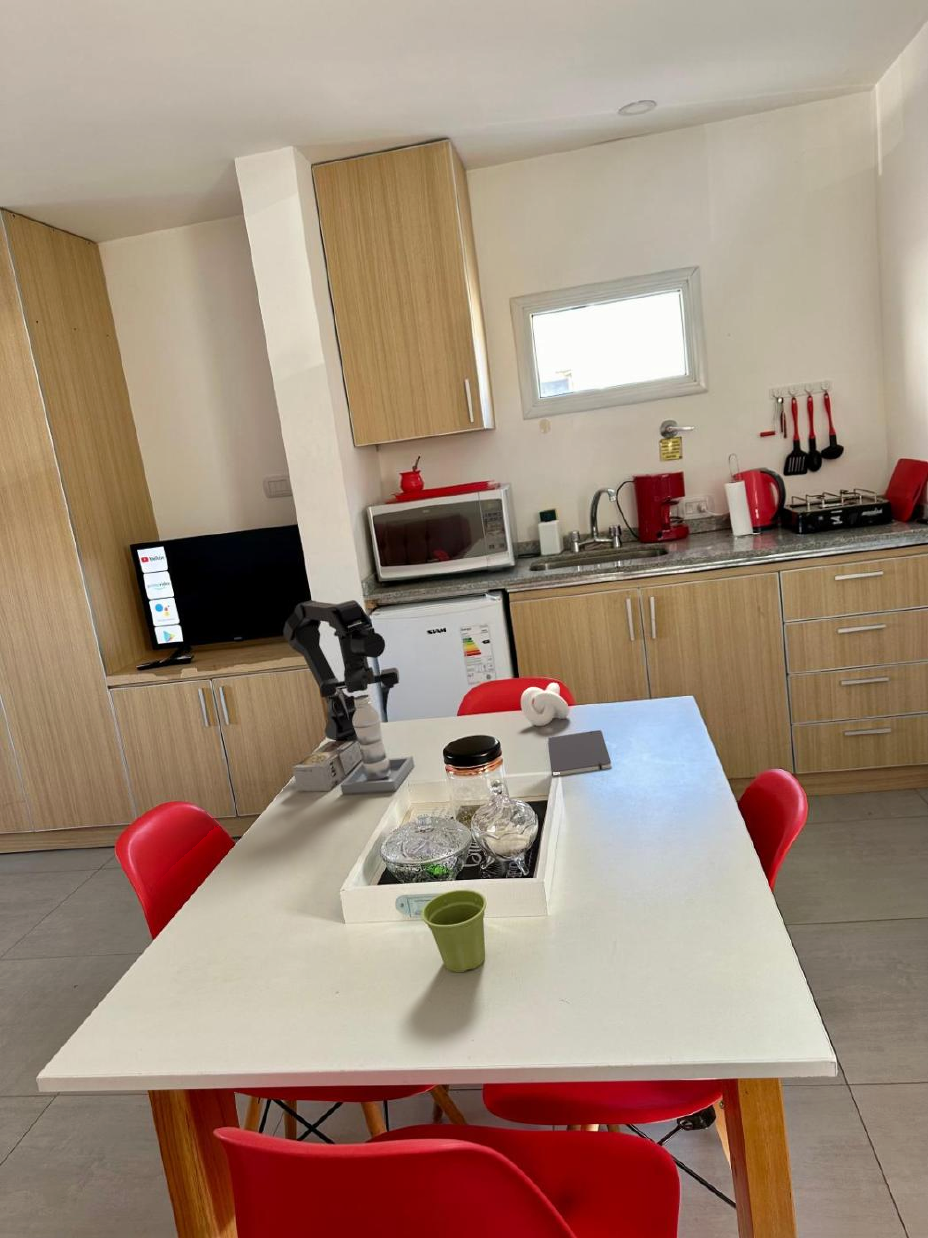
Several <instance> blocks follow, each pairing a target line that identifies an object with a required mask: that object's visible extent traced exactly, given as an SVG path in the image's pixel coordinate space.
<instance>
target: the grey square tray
mask: <svg viewBox="0 0 928 1238" xmlns="http://www.w3.org/2000/svg"><path fill="white" fill-rule="evenodd" d="M388 759H389V762H390V765H391V771H390V774H389V776H388V777H386V778H384V779H381V780H378V781H370V780H368V779H367V778H366V777H365V775H364V773H363V761H362V762H361V763H360V764H359V765H358V766H357V767H356V768H355V769H354V771H353V772H352V773H351V774H349V775H348V776H347V777H346V778H345V779H344V781H342V782H341V784H340V791H341V793H342V796H351V795H352V796H353V795H366V794H370V795H371V794H380V793H381V794H383V793H384V794H385V793H396V792H397V791H398V790H399V788H400V787H401V785H402V784H403V783H404V782H405V780H406V779H407V778H408V776H409V775H410V773H411V772H412V771H413V769H414V768H415V763H414V758H413V756H407V757H394V758H388ZM413 767H414V768H413ZM411 770H412V771H411ZM409 772H410V773H409ZM408 774H409V775H408ZM407 775H408V776H407ZM403 781H404V782H403ZM397 789H398V790H397Z"/></svg>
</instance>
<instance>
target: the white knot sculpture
mask: <svg viewBox="0 0 928 1238" xmlns="http://www.w3.org/2000/svg"><path fill="white" fill-rule="evenodd" d="M560 690H561V689H560V686H559V684H558V683H557V682H556V683H555V682H550V683H549V684H548V685H547V687H546V689H545V690H543V689H542V688H539V687H536V686H531V687H528V688H527V689H525V690H524V691H523V692H522V694H521V697H520V708H521V710H522V713H523V715H524V717H525V718H526V720H527V721H528V722H529V723H531V724H533V725H534V726H537V727H538V726H539V727H542V726H546V725H548V724H549V723H551V721H552V720H553V719H554V717H555V718H556V719H560V720H563V719H567V717H568V716H570V708H569V705H568V703H567V701H566V700H564V698H563V697H562V696H560Z"/></svg>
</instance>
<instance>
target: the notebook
mask: <svg viewBox="0 0 928 1238" xmlns="http://www.w3.org/2000/svg"><path fill="white" fill-rule="evenodd" d="M547 739H548V747H549V755H550V764H551V771H552V772H560V774H561V775H563V776H564V775H571V774H576V773H577V774H578V773H583V772H589V771H590V772H591V771H595V770H603V769H610V768H611V767H612V764H611V763H612V761H611V757H610V754H609V751H608V748H607V746H606V741H605V738H604V735H603V732H602V730H601V729H596V730H589V731H585V732H584V731H583V732H578V733H572V734H571V733H570V734H563V735H558V736H552V737H550V736H549V737H547ZM552 772H551V773H552ZM561 775H560V776H561Z"/></svg>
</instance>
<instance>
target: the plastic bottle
mask: <svg viewBox="0 0 928 1238" xmlns="http://www.w3.org/2000/svg"><path fill="white" fill-rule="evenodd" d="M354 697H355V698H354V703H355V707H356V711H355V713H354V716H353V721H352V723H353V726H354V729H355V731H356V734H357V737H358V740H359V744H360V749H361V753H362V761H363V773H364V775H365V777H366V778H367V779H368V780H370V781H378V780H381V779H384V778H386V777H388V776H389V774H390V771H391V765H390V762H389V759H390V758H389V757H388V755H387V753H386V749H385V746H384V741H383V735H382V728H381V716H380V713H378V711H377V710H376V708H374V707H373V706H372V705H371V704H372V700H371V698H370V695H369V694H362V695H361V694H360V695H358V696H354Z"/></svg>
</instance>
